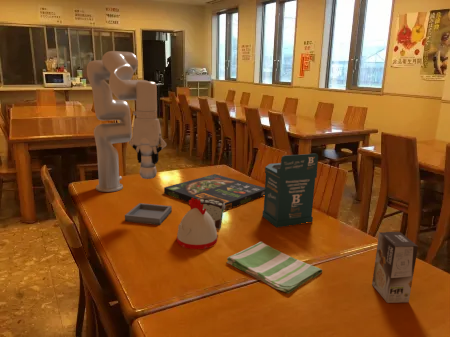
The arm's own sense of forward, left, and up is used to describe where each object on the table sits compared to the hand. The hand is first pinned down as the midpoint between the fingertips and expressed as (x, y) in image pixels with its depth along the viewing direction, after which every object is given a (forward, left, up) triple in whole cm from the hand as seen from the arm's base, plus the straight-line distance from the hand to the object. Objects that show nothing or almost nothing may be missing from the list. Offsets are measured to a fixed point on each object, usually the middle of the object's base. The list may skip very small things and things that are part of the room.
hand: (148, 162), depth 144 cm
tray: (0, 0, -22) cm, 22 cm away
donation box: (-13, +53, -23) cm, 59 cm away
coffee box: (+35, +83, -23) cm, 93 cm away
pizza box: (-35, +20, -23) cm, 46 cm away
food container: (+1, +26, -23) cm, 34 cm away
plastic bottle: (0, 0, -7) cm, 7 cm away
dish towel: (+29, +51, -23) cm, 63 cm away
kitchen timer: (+16, +24, -23) cm, 37 cm away
